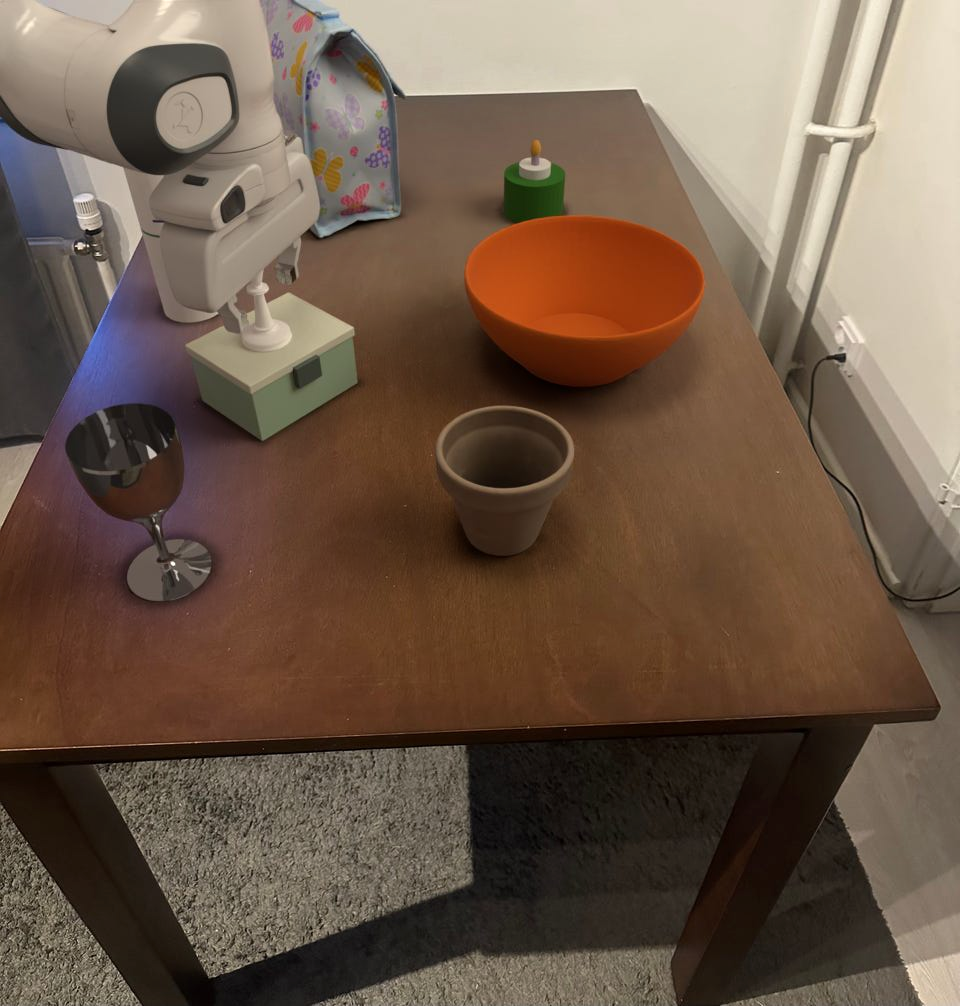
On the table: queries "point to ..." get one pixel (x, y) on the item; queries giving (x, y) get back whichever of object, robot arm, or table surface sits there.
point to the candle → (533, 188)
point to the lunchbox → (276, 368)
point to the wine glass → (140, 491)
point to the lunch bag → (336, 110)
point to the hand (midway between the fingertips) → (263, 304)
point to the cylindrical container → (157, 245)
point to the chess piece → (264, 322)
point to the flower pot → (503, 473)
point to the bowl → (583, 295)
